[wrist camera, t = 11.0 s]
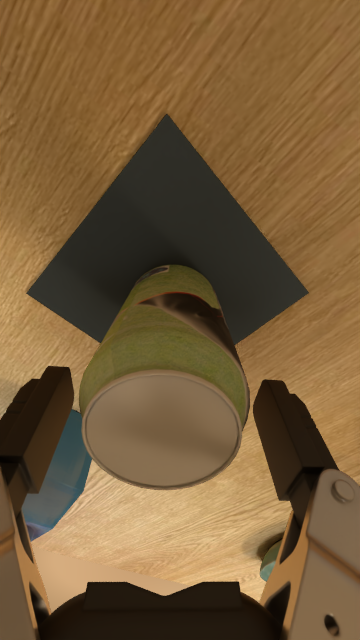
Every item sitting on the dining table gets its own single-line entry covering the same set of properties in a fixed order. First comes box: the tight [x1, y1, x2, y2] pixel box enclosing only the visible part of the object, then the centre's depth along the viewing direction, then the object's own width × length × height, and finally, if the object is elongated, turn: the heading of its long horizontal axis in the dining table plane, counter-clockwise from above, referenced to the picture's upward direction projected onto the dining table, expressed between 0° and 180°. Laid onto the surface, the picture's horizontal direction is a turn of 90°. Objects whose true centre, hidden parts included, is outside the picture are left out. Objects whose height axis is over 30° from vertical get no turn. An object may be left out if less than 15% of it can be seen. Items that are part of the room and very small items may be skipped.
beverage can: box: [79, 264, 250, 490], centre depth 13 cm, size 6×7×12 cm
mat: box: [26, 114, 309, 345], centre depth 18 cm, size 14×14×1 cm
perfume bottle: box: [22, 409, 92, 541], centre depth 21 cm, size 6×6×12 cm
